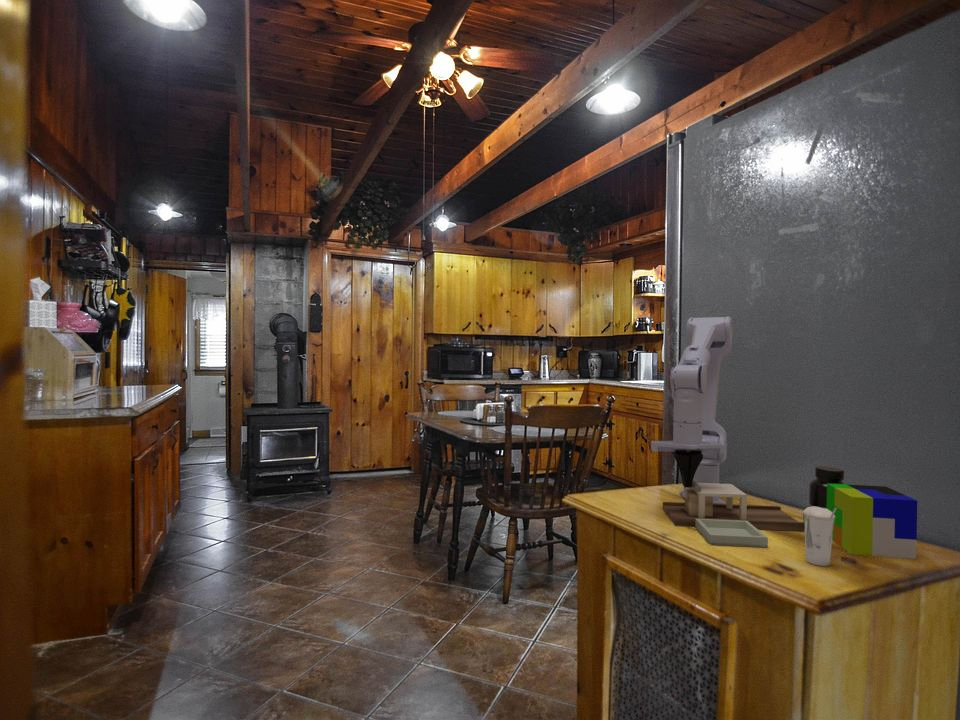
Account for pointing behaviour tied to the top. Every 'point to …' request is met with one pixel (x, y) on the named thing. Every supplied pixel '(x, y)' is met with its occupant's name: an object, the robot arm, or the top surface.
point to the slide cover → (719, 491)
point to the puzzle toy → (873, 520)
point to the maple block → (692, 503)
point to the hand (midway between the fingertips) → (686, 486)
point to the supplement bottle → (823, 484)
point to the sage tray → (731, 533)
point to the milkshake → (818, 534)
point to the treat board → (737, 516)
